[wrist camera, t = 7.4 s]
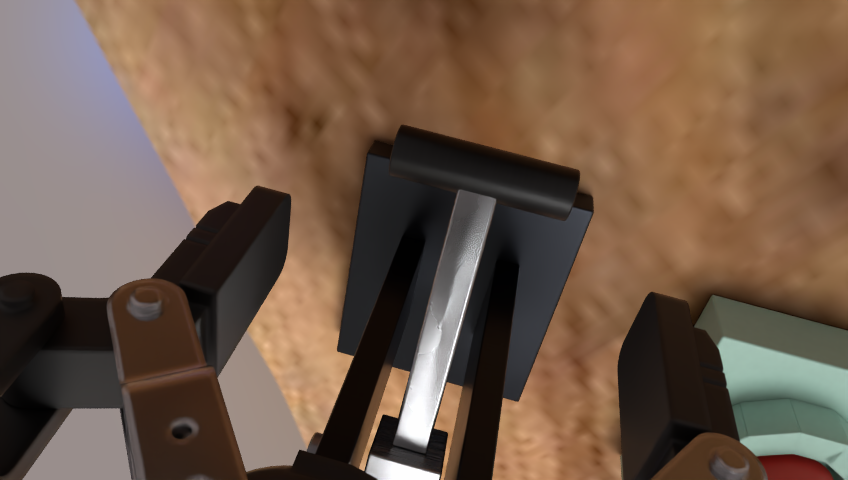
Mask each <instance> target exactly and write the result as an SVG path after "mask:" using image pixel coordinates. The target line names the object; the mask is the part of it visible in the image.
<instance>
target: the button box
mask: <svg viewBox="0 0 848 480" xmlns="http://www.w3.org/2000/svg"><path fill="white" fill-rule="evenodd" d="M694 327H695V328H699V329H703V330H706V332H707V333H708V334H709V336H710V337H711V339H712V340H713V342H714V343H715V345H716V346H717V347H718V349H719V351H720V355H721V360H722V364H723V373H725V377H726V382H727V387H726V388H727V389H728V391H729V395H730V399H731V404H732V408H733V412H734V417H735V421H736V426H737V430H738V434H739V439H740V443H742V444H743V445H745V446H746V447H747V448H748V449H750V450H751V451H752V452H753V453H754V454H755V455H756V456H768V455H784V454H796V455H799V456H803V457H807V458H810V459H814V460H816V461H818V462H819V463H821V464H822V465H823V466H825V467H826V468H827V469H828V470H829V472H830V473H831V475H832V477H833V479H834V480H848V331H847V330H843V329H840V328H836V327H832V326H828V325H825V324H821V323H817V322H813V321H810V320H806V319H802V318H798V317H795V316H791V315H787V314H783V313H780V312H776V311H772V310H768V309H764V308H761V307H757V306H753V305H749V304H746V303H742V302H738V301H734V300H731V299H727V298H723V297H719V296H716V295H712V296H711V298H710V299H709V301H708V303H707V305H706V307H705V308H704V310H703V312H702V314H701V315H700V317H699V319H698V321H697V322H696V324H695V326H694ZM620 459H621V477H622V480H623V466H622V454H621V456H620Z"/></svg>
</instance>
